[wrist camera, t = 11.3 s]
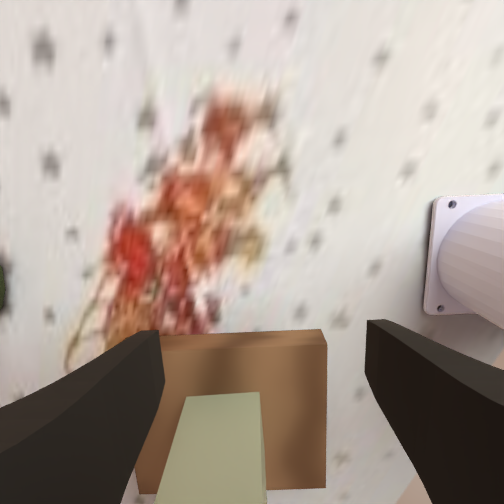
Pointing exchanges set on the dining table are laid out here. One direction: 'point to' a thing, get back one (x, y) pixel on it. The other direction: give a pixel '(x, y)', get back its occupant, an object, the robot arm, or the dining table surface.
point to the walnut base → (244, 381)
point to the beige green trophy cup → (1, 287)
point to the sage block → (216, 453)
